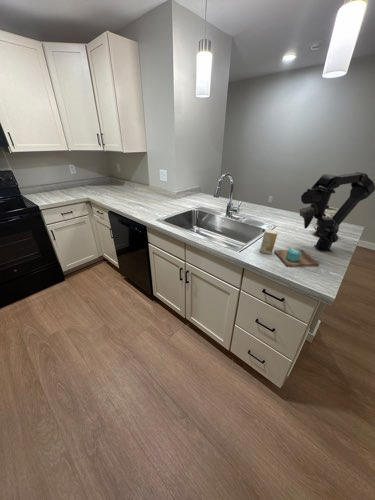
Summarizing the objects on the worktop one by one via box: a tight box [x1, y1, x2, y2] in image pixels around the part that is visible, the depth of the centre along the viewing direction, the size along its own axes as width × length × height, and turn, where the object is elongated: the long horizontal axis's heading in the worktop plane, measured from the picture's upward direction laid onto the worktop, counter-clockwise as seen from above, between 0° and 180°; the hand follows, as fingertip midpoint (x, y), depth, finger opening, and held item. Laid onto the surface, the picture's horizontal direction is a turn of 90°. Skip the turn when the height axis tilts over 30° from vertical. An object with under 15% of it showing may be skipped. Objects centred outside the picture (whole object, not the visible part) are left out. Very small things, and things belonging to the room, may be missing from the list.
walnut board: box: [273, 249, 320, 268], centre depth 103 cm, size 16×14×1 cm
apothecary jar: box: [312, 206, 340, 239], centre depth 124 cm, size 12×12×18 cm
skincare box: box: [259, 228, 279, 255], centre depth 106 cm, size 6×4×12 cm
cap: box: [286, 247, 301, 261], centre depth 99 cm, size 6×6×4 cm
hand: (310, 231), depth 104 cm, fingers open, 9 cm apart
